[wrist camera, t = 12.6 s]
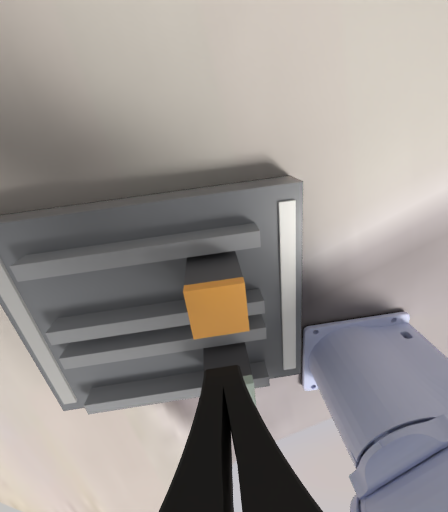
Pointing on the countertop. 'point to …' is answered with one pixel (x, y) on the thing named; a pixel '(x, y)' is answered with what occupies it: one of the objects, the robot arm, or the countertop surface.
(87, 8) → the countertop surface
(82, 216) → the block
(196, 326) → the breaker toggle
